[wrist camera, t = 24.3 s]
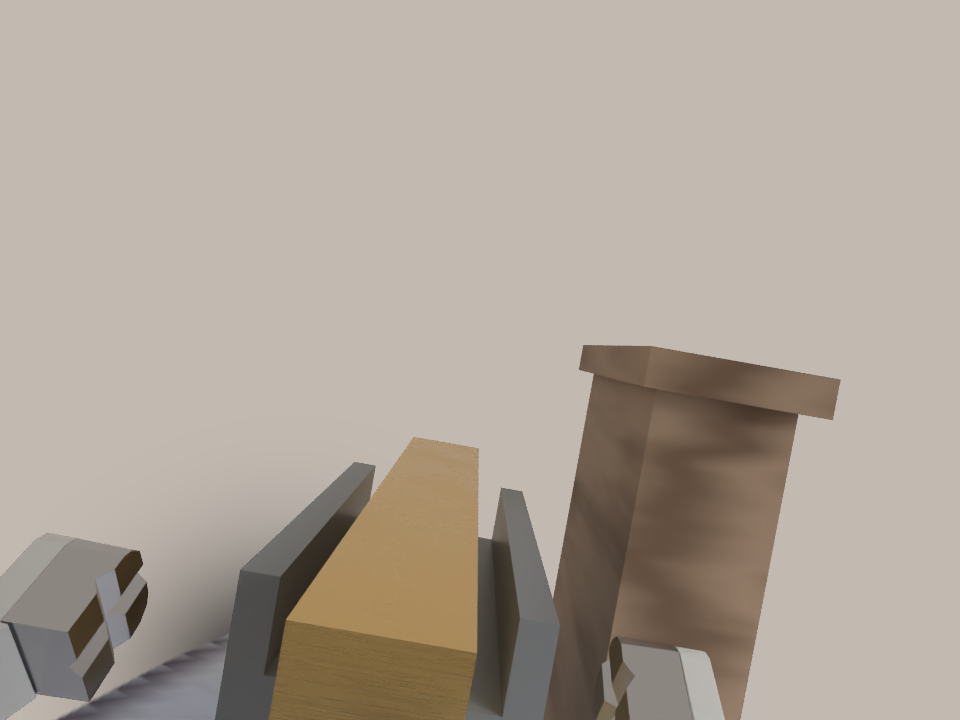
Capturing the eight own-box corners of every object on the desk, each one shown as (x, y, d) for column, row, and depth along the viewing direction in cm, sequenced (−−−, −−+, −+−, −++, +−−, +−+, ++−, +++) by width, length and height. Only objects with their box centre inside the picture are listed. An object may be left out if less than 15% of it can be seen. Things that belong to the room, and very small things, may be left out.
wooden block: (402, 501, 33) (413, 437, 33) (467, 512, 33) (478, 448, 33) (254, 807, 11) (285, 619, 11) (443, 839, 11) (476, 653, 11)
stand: (620, 781, 38) (697, 365, 38) (709, 1061, 23) (840, 379, 23) (507, 761, 38) (583, 345, 38) (525, 1030, 23) (651, 345, 23)
